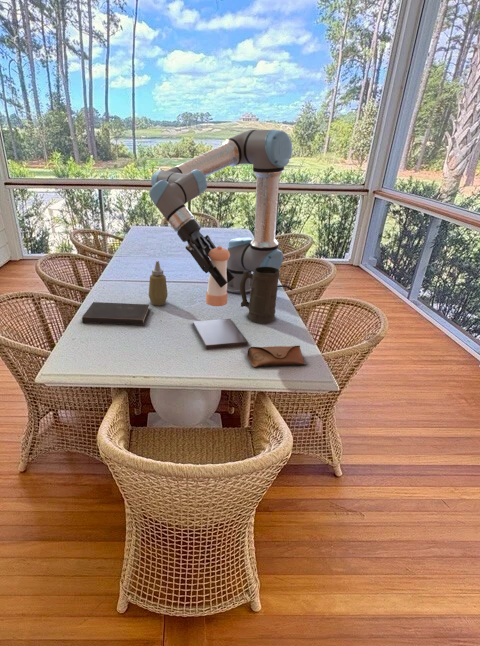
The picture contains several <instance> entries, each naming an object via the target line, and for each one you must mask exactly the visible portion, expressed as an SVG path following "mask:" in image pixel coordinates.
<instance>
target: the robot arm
mask: <svg viewBox="0 0 480 646" xmlns="http://www.w3.org/2000/svg"><path fill="white" fill-rule="evenodd" d="M292 155H293V143H292V139H291V137H290V136H289V134H288V133H287V132H285V131H284V130H279V129H273V128H272V129H249V130H246V131H243V132H241V133H238V134H236V135H234V136H232V137H230V138H227V139H225V140H224V141H223V142H222V144H221V145H219V146H217V147H215V148H212V149H210V150H208V151H206V152H204V153H202V154H199V155H198V156H195V157H194V158H191V159H189V160H187V161H185V162H182V163H181V164H178V165H176V166H173V167H171V168H169V169H167V170H163V169H162V170H161V169H160V170H156V171H154V173H152V176H151V178H150V179H151V180H150V183H151V184H150V185H151V188H150V190H149V192H148V196H149V198H150V200H151V201H152V203H153V204H154V207H156V208H157V210H158V211H159V212H160V214H161V215H162V216H163V217H164V219H165V220H166V222H168V224H169V225H170V227H171V228H172V229H173V230H174V232H176V235H177V236H178V238H179V239H180V240H181V242H183V243H186V242H187V245H186V246H185V250H187V252H189V254H190V255H191V256H192V258H193V259H194V260H195V262H196V263H197V265H198V266H199V268H200V269H201V271H202V272H204V273H205V274H208V273H209V274H211V275H212V277H213V278H214V279H215V281H216V282H217V283H218V285H219V286H220V287H223V286H224V285H225V284H226V283H227V293H232V294H240V295H241V292H240V282H241V279H242V277H243V271H248V272H249V273H252V274H253V272H254V269H255V268H257V267H273V268H276V269H278V270H279V269H281V266H282V264H283V261H284V253H283V251H281V250H280V249H279V240H277V239H276V229H277V217H278V203H279V189H280V176H281V175H282V174H283V173H284V171H285V167H286V166H287V165H288V164H289V163H290V160H291V159H292ZM245 164H246V165H252V172H253V173H254V175H255V176H256V184H255V185H256V186H255V187H256V188H255V211H254V213H255V214H254V232H253V233H254V235H253V237H254V238H253V237H236V238H232V239H230V240H229V241H228V246H227V250H228V251H229V253H230V257H229V259H228V260H227V272H226V273H227V281H226V280H225V278H224V277H223V276H222V274H221V273H220V272H219V270H218V269H217V268H216V266H215V267H214V266H213V264H212V263H211V259H210V258H209V255H208V254H209V252H210V250H212V249H214V248H217V246H216V245H215V243H214V242H213V241H212V239H211V238H210V235H208V234H207V235H205V236H204V234H202V233H201V231H200V230H201V229H202V226H201V225H200V223H199V222H198V221H197V220H196V219H195V218H194V215H193V214H192V213H191V211H190V210H189V209H188V207H187V206H186V204H187V203H189V202H190V201H192V200H193V199H196V198H197V197H200V195H202V193H204V192H205V191H206V190H207V188H208V181H207V177H209V176H211V175H213V174H216V173H218V172H219V171H221V170H223V169H225V168H227V167H231V168H233V167H236V166H238V165H245ZM213 267H214V268H213ZM251 286H252V279H251V278H247V280H246V283H245V292H246V294H250V292H251ZM277 288H286V289H288V290H289V291H293V288H292V287H291V286H289V285H285V284H281V285H279V284H278V287H277Z"/></svg>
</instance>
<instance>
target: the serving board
mask: <svg viewBox="0 0 480 646" xmlns="http://www.w3.org/2000/svg"><path fill="white" fill-rule="evenodd" d="M192 326H193V328H194V330H195V332H196V334H197V336H198V337H199V339H200V341H201V343H202V345H203V346H204V348H205V350H212V349H222V348H234V347H235V348H236V347H248V345H249V341H248V340H247V339H246V337H245V335H244V334H243V333H242V332H241V331H240V330H239V328H238V327H237V326H236V324H235V323H234V322H233V320H232V318H223V319H222V318H219V319H208V320H207V319H206V320H192Z"/></svg>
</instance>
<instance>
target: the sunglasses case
mask: <svg viewBox="0 0 480 646" xmlns="http://www.w3.org/2000/svg"><path fill="white" fill-rule="evenodd" d="M246 357H247V360H248V362H249V363H250V365H251V366H252V368H263V367H296V366H306V365H307V363H306V362H305V359H304V357H303V354H302V350H301V345H289V346H287V345H286V346H285V345H284V346H282V345H281V346H279V345H278V346H277V345H276V346H251V347H248V349H247V353H246Z"/></svg>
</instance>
